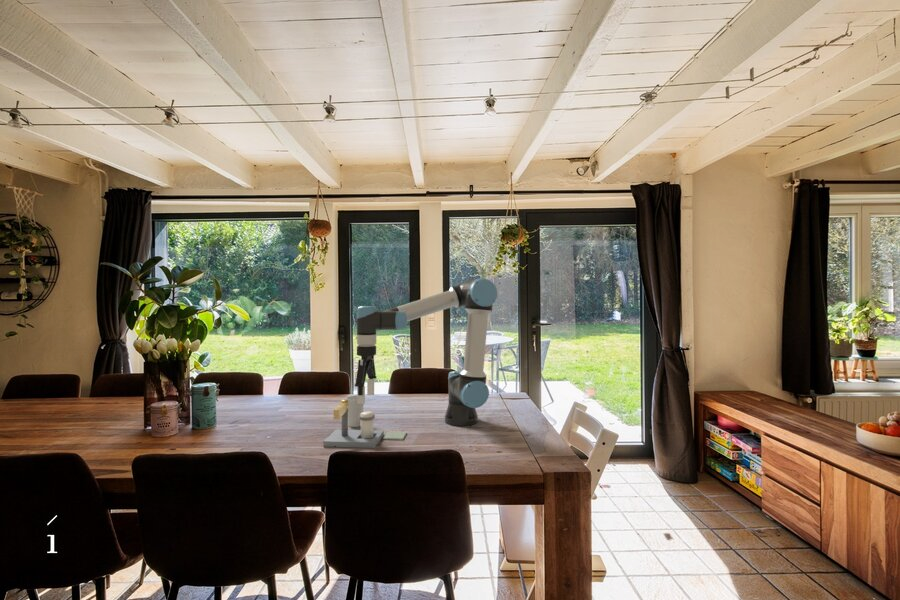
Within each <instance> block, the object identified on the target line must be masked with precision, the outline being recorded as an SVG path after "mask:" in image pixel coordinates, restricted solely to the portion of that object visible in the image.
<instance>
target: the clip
mask: <svg viewBox="0 0 900 600" xmlns="http://www.w3.org/2000/svg"><path fill="white" fill-rule="evenodd" d="M348 410H349V400H348V399H346V398H345V399H344V398H343V399H340V402H339V404H338V405H337V406H336V407H335V408H334V409H333V420H340V419H342V416H343V414H344V413H345V412H346V411H348Z"/></svg>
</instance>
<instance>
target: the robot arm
mask: <svg viewBox="0 0 900 600" xmlns="http://www.w3.org/2000/svg"><path fill="white" fill-rule="evenodd" d="M497 299H498V288H497V287H496V285H495V284H494V282H493V281H492V280H490V279H488V278H482V277H481V278H480V277H478V278H475V279H474V278H473V279H469V280H466V281H464V282H462V283H460V284H456V285H454V286H451V287H450V288H449V290H446V291H443V292H439V293H437V294H433V295H431V296H427V297H423V298H421V299H418V300H413V301H411V302H408V303H405V304H402V305H398V306H395V307H392V308H390V309H383V310H382V311H381V310H378V309H377V306H375V305H372V306H371V305H361V306H358V308H357V309H356V311H357V315H356V337H355V339H356V344H357V346H356V355H357V356H358V357H360V358H361V359H358V361H357V362H358V365H357V371H356V377H355V378H356V379H355V384H354V387H355V388H356V387H357V391H356V393H357V394H356V396H357V404H364V405H365V404H366V395H367V396H375V379H377V373H376V367H375V356H376V355H377V346H376V345H377V331H400V330H405V329H406V328H407V325H408V324H407V323H408V322H410V321H414V320H416V319H419V318H422V317H426V316H428V315H431V314H435V313H438V312H441V311H444V310H448V309H451V308H453V307H454V308H456V309H457V308H460V307H464V311H466V313H467V321H466V335H465V344H464V345H465V346H464V358H463V366H462V367H463V368H462V369H461V370H453V371H450V372H448V377H447V380H448V384H447V385H448V388H447V389H448V405H447V408H446V411H445V415H444V423H446V424H448V425H451V426H456V427H457V426H458V427H466V426H473V425H475V424H477V423H478V422H479V417H478V412H477V410H476V408H480V407H482V406H484V404H486V403H487V401H488V399H489V396H490V391H489V388H488V385H487V374H486V373H485V371H484V367H485V357H486V356H485V355H486V344H487V343H486V342H487V331H488V322H489V321H488V320H489V314H491V313H492V311H493V304H494V303H495V302H496V300H497ZM366 378H367V380H366ZM366 381H367V382H366ZM365 383H366V385H365ZM366 391H367V392H366Z"/></svg>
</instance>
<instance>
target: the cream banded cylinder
mask: <svg viewBox="0 0 900 600" xmlns="http://www.w3.org/2000/svg"><path fill="white" fill-rule="evenodd" d="M375 417H376V415H375V414H374V412H373V411H369V410H368V411H363V412H362V413H361V415H360V416H359V419H360V420H361V426H360V430H361V439H373V438H374V430H375V428H374V419H375Z"/></svg>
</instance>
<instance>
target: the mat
mask: <svg viewBox="0 0 900 600" xmlns="http://www.w3.org/2000/svg"><path fill="white" fill-rule="evenodd" d="M406 435H407V431H394V430H393V431H391V430H389V431H386V433H385V434H384V436H383V437H382V440H386V441H389V440H393V441H404V439H405V437H406Z"/></svg>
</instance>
